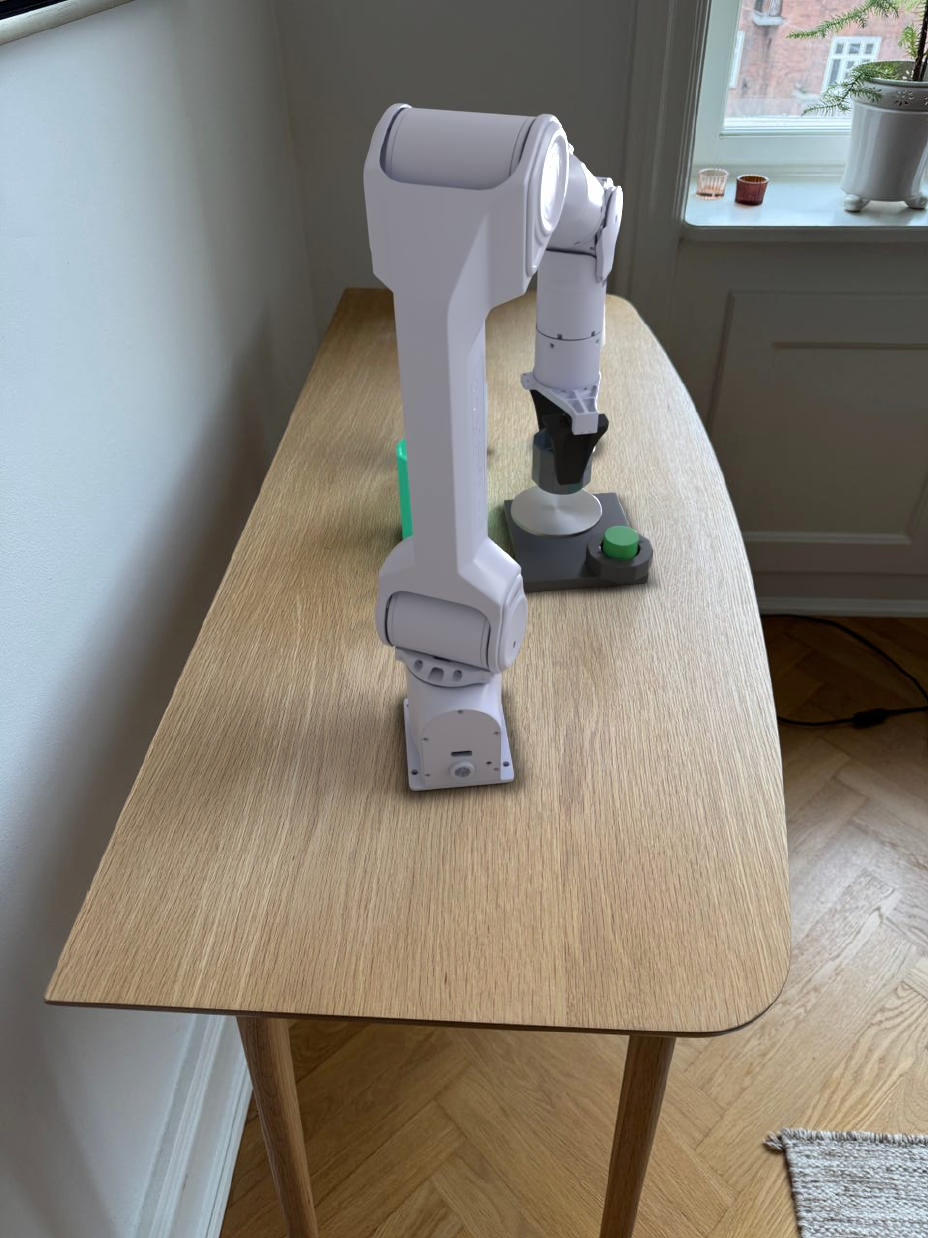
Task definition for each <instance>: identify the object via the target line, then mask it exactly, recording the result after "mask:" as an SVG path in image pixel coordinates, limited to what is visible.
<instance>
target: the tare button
mask: <svg viewBox="0 0 928 1238" xmlns="http://www.w3.org/2000/svg"><path fill="white" fill-rule="evenodd" d="M638 539H639V536H638V534H637V531H636V530H635V529H633V528H631V527H630V528H629V527H625V526H615V527H611V528H609V529H608V530H606V532H605V534H604V543H603V552H604V553H605V555H606V556H608V557H610V558H614V559H618V560H623V559H631V558H633V557H634V556H635V555H636V553H637V547H638Z"/></svg>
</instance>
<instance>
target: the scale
mask: <svg viewBox="0 0 928 1238" xmlns="http://www.w3.org/2000/svg"><path fill="white" fill-rule="evenodd" d="M591 494H592V495H593V496H594V497H596V498H597V500H598V501H599V503H600V505H601V508H602V515H601V519H600V521H599V523H598V524H597V526H596V527H595V528H593V529H592V530H591V531H589V532H587V533H585V534H583V535H580V536H576V537H572V538H563V539H554V538H545V537H540V536H537V535H534V534H531V533H529V532H527V531H525V530H523V529H522V528H520V527H519V526H518V525H517V524H516V523H515V521H514V520H513V518H512V515H511V505H512V502H513V500H514V499H504V500H503V512H504V516H505V521H506V524H507V528H508V532H509V538H510V542H511V546H512V551H513V555H514V560H515V562H516V563H518V564H519V566H520V567H521V576H522V578H523V590H524V593H532V592H533V593H534V592H544V591H558V590H559V591H560V590H569V589H570V590H572V589H584V588H595V587H596V588H598V587H610V586H622V585H634V584H635V585H637V584H648V581H649V575H650V572H649V571H650V569H651V567H652V563H653V557H654V552H655V551H654V547H653V545H652V543H651V541H650V539H649V538H647V537H646V536H644V535H643V534H641V533H639V532H637V531H636V532H637V534H638V536H639V539H638V547H637V553H636V555H635V556H634V557H633V558H631V559H623V560H618V559H614V558H610V557H608V556H606V555H605V553H604V552H603V543H604V534H605V532H606V530H608V529H609V528H611V527H615V526H625V527H629V528H631V526H630V523H629V521H628V519H627V516H626V514H625V511H624V509H623V507H622V504H621V501H620V500H619V497H618V494H617V492H601V493H600V492H599V493H591Z"/></svg>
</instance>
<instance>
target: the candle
mask: <svg viewBox="0 0 928 1238" xmlns="http://www.w3.org/2000/svg"><path fill="white" fill-rule="evenodd" d="M395 446H396V448H395V449H396V451H395V452H396V466H397V467H396V468H397V479H398V490H399V491H398V492H399V494H398V495H399V507H400V517H401V518H400V519H401V533H402V541H403V540H404V539H406V538H408V537H410V536H412V535H413V529H412V516H411V504H410V492H409V480H408V468H407V456H406V444H405V436H404V437H403V438H402V439H401V440H400V441H399V442H398V443H396V445H395Z"/></svg>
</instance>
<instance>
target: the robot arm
mask: <svg viewBox="0 0 928 1238" xmlns="http://www.w3.org/2000/svg"><path fill="white" fill-rule="evenodd" d="M573 152H574V147H573V145H571V143H570V142H568V139H567V135H566V132H565V131H564V129H563V126H562V124H561V123H560V121H559V120H558V118H557V117H556V116H555V115H553V114H551V113H542V114H539V115H537V116H528V115H515V114H505V113H504V114H501V113H488V112H487V113H486V112H476V111H475V112H474V111H461V110H447V109H434V108H422V107H421V108H419V107H413V106H412V105H409V104H408V103H394V104H392V105H390V106H389V107H388V108H386V109H385V111H384V112H383V115H382V116H381V118H380V120H379V121H378V122H377V124H376V126H375V128H374V131H373V133H372V137H371V141H370V145H369V148H368V151H367V155H366V158H365V161H364V165H363V174H362V175H363V177H362V178H363V189H364V199H365V201H364V202H365V210H366V221H367V231H368V243H369V250H370V252H371V253H370V254H371V262H372V263H371V264H372V273H373V275H374V276H375V277H376V278H377V279H378V280H379V281H380V282H381V283H383V285H384V286H385V287H387V288H388V290H389V291H391V293H393V295H392V296H393V308H394V321H395V322H394V323H395V332H396V333H395V334H396V344H397V345H396V346H397V358H398V369H399V381H400V382H399V383H400V393H401V394H400V395H401V405H402V418H403V430H404V431H403V432H404V437H405V444H406V456H407V468H408V480H409V492H410V504H411V516H412V529H413V535H412V536H410V537H408V538H406V539H404V540H403V539H402V541H400V542H398V544H396V545H395V546H394V547H393V549H392V550H391V551H390V552H389V554H388V555H387V557H386V559H385V560H384V563H383V564H382V566H381V568H380V570H379V571H378V575H377V598H376V602H375V609H374V626H375V630H376V632H377V635H378V638H379V640H380V642H381V643H382V644H383V645H385V646H387V647H390V648H393V647H394V654H395V655H394V657H395V661H397V662H400V663H402V664H404V669H405V682H406V694H407V697H406V698H404V699H403V703H402V704H403V717H404V727H405V728H404V730H405V746H406V759H407V760H406V761H407V775H408V786H409V789H410V790H411V791H413V792H417V791H427V790H428V791H429V790H439V789H449V788H461V787H462V788H463V787H472V786H485V785H493V784H494V785H495V784H505V783H511V782H513V781H514V779H515V771H514V770H515V769H514V765H513V760H512V755H511V749H510V744H509V743H510V742H509V738H508V732H507V727H506V721H505V715H504V711H503V704H502V679H503V677H502V674H503V673H504V672H505V671H506V670H508V669H509V668H510V667H511V666H513V664H514V663H515V661H516V659H517V658H518V655H519V652H520V649H521V647H522V643H523V640H524V635H525V631H526V626H527V621H528V613H529V609H528V608H529V605H528V604H529V603H528V598H527V596H526V593H525V592H524V590H523V578H522V576H521V567H520V566H519V564H518V563H516V560H515V559H513V558H512V556H510V555H509V554H508V553H507V552H505V550H504V549H502V548H501V547H500V546H499V545H498V544H496V543H495V542H494V541H493V540H492V539H491V538H490V537H489V529H488V527H489V525H488V524H489V523H488V460H487V459H488V456H487V455H488V440H487V441H486V372H487V369H486V368H487V367H486V366H487V365H486V364H487V363H486V320H487V318H488V315H489V313H490V311H491V310H492V309H494V308H496V307H498V306H500V305H503V304H505V303H507V302H509V301H512V300H514V299H516V298H519V297H521V296H522V297H523V296H524V295H525V294H526V292H527V290H528V287H529V284H530V282H531V280H532V277H533V276H534V275H535V274H536V273H537V275H536V276H537V279H536V306H535V307H536V309H535V331H534V332H535V333H534V334H535V335H534V338H535V339H534V360H533V363H534V364H533V367H532V370H531V371H528V372H523V373H521V374H520V384H521V387H522V388H523V389H524V390H528V391H529V393H530V396H531V399H532V402H533V406H534V412H535V415H536V421H537V428H538V431H540V430H541V429H542V428H546V429H547V431H548V433H549V436H550V439H551V443H552V448H553V455H554V466H555V473H556V478H557V481H558V483H559V485H567V484H577V483H580V482H581V480H582V477H583V475H584V472H585V469H586V466H587V464H588V461H589V458H590V456H591V453H592V451H593V449H594V447H595V448H596V446H597V444H598V443H599V441H600V440H601V439H602V437H603V436H604V435H605V434H606V433H607V432H608V429H609V426H610V421H609V418H608V417H607V415H606V413H605V412H604V413H603V412H602V413H600V412H599V410H598V408H597V405H598V399H599V398H598V397H599V392H600V387H601V378H602V375H601V372H600V364H601V353H602V349H601V342H602V330H603V318H604V307H605V308H606V295H607V294H606V293H607V284H608V283H607V281H608V276H609V274H610V273H611V271H612V270H613V264H614V256H615V249H616V242H617V239H618V235H619V232H620V228H621V227H620V226H621V220H622V213H623V212H622V211H623V191H622V188H621V186H620V185H617V186H615V185H614V182H613V180H612V178H610V177H605V176H604V177H603V176H594V175H593V174H592V173H591V172H590V170H589V169H588V168H587V167H586V165H585V163H583V162H582V161H580V159H579V158H578V157H577V156H576V155H574V153H573Z"/></svg>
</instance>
